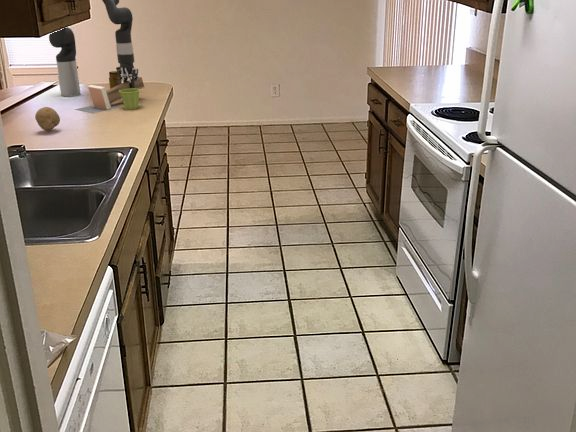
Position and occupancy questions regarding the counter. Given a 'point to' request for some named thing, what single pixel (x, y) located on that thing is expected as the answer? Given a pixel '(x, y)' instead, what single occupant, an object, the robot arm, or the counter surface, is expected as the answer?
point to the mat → (94, 109)
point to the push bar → (114, 92)
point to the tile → (99, 97)
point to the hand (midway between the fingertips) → (129, 89)
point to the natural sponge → (47, 118)
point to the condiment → (114, 79)
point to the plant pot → (130, 98)
